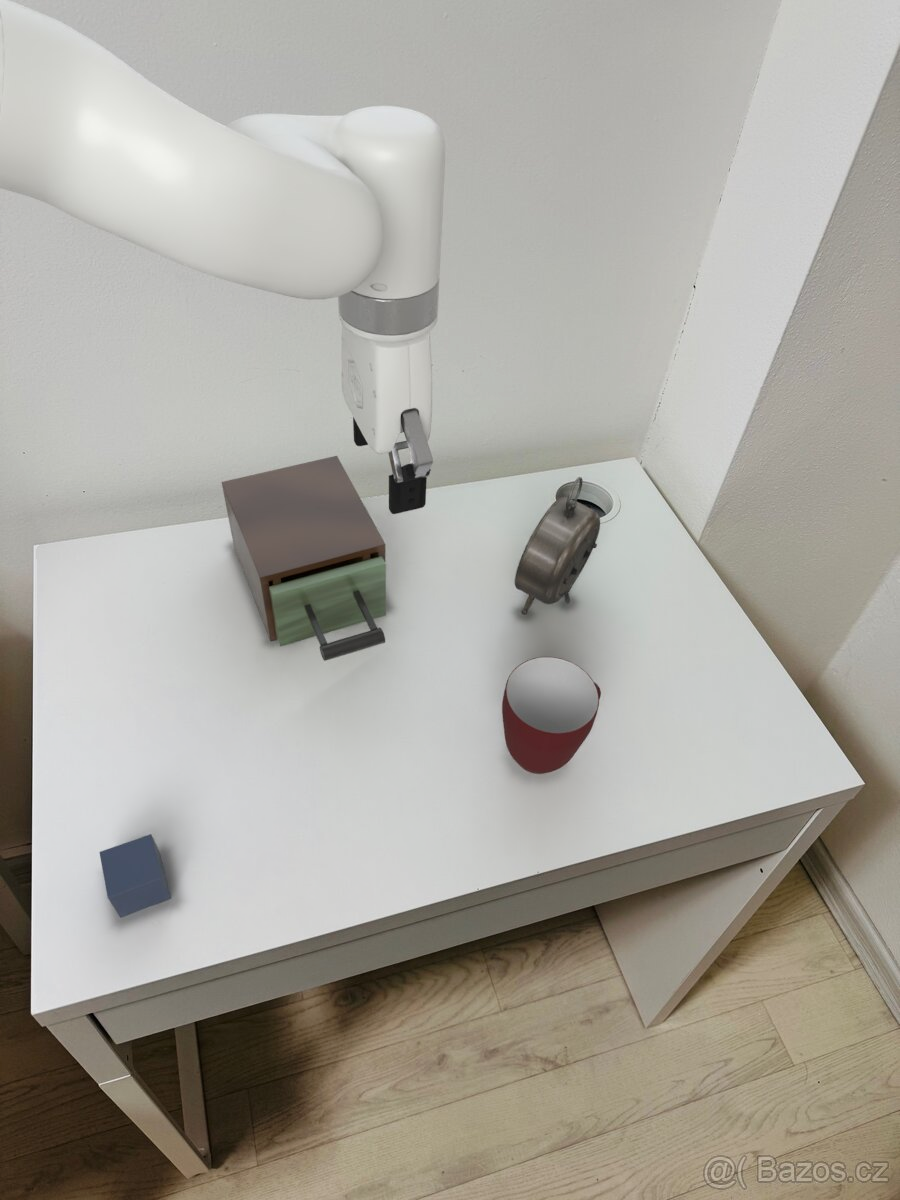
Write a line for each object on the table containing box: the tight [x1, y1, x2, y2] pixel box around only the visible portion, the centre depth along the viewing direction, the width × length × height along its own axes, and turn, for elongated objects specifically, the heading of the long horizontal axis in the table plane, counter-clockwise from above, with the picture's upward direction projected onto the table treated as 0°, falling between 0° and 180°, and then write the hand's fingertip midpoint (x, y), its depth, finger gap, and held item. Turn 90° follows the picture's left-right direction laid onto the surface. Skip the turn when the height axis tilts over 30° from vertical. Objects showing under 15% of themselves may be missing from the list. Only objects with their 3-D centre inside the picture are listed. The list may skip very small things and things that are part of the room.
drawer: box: [269, 554, 387, 662], centre depth 85 cm, size 20×11×8 cm, turn 24°
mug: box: [501, 656, 602, 775], centre depth 75 cm, size 10×8×10 cm
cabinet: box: [221, 455, 386, 642], centre depth 88 cm, size 15×13×10 cm
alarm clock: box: [514, 476, 601, 616], centre depth 86 cm, size 11×5×16 cm, turn 147°
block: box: [99, 833, 172, 918], centre depth 67 cm, size 4×4×4 cm
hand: (388, 474), depth 75 cm, fingers open, 9 cm apart
